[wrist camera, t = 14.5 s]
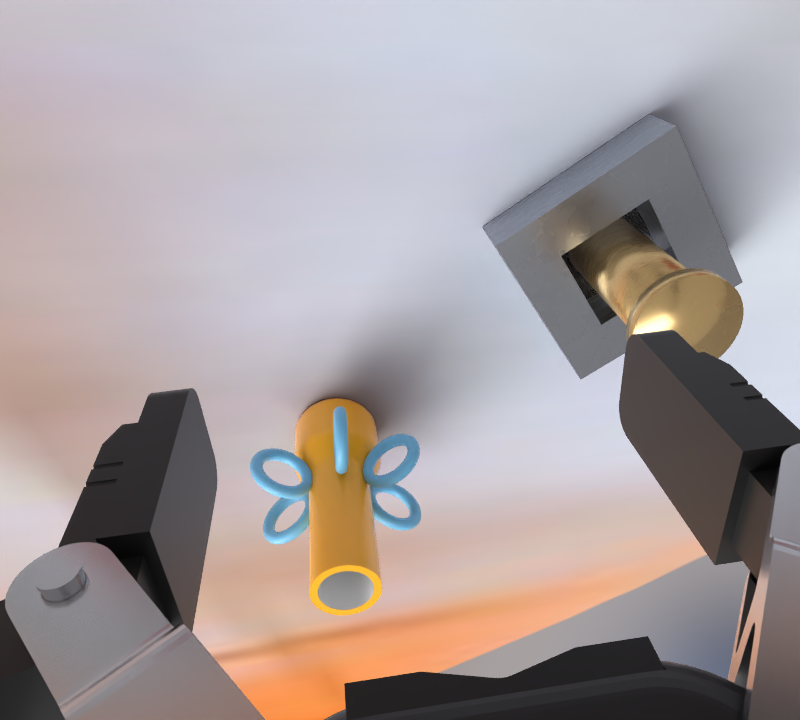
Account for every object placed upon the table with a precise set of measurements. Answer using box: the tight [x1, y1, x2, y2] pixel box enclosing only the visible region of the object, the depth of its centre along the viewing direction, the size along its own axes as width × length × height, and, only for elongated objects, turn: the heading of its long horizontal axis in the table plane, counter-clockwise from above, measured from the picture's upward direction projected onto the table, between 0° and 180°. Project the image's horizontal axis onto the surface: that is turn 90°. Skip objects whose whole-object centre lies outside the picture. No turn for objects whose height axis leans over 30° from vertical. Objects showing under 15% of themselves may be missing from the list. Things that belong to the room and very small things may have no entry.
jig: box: [483, 114, 742, 379], centre depth 43 cm, size 12×12×4 cm
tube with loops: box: [250, 398, 421, 615], centre depth 43 cm, size 12×10×15 cm
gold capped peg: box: [568, 217, 743, 358], centre depth 39 cm, size 6×6×12 cm
